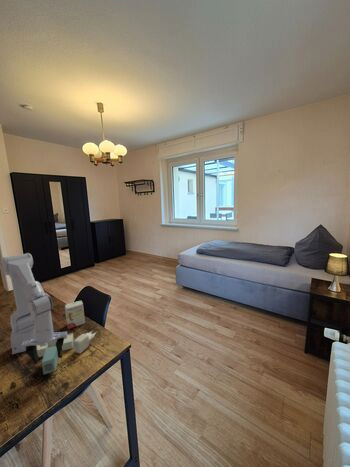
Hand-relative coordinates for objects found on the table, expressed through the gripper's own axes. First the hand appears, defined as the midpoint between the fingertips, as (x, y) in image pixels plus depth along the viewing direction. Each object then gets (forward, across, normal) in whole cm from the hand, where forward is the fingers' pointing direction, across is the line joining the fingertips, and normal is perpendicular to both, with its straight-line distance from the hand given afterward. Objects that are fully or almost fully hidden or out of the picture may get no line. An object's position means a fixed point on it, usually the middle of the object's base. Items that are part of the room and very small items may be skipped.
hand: (48, 358), depth 77 cm
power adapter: (+6, +13, +9) cm, 17 cm away
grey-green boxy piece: (+5, 0, +3) cm, 6 cm away
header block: (+5, 0, +13) cm, 14 cm away
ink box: (+6, +7, +29) cm, 31 cm away
